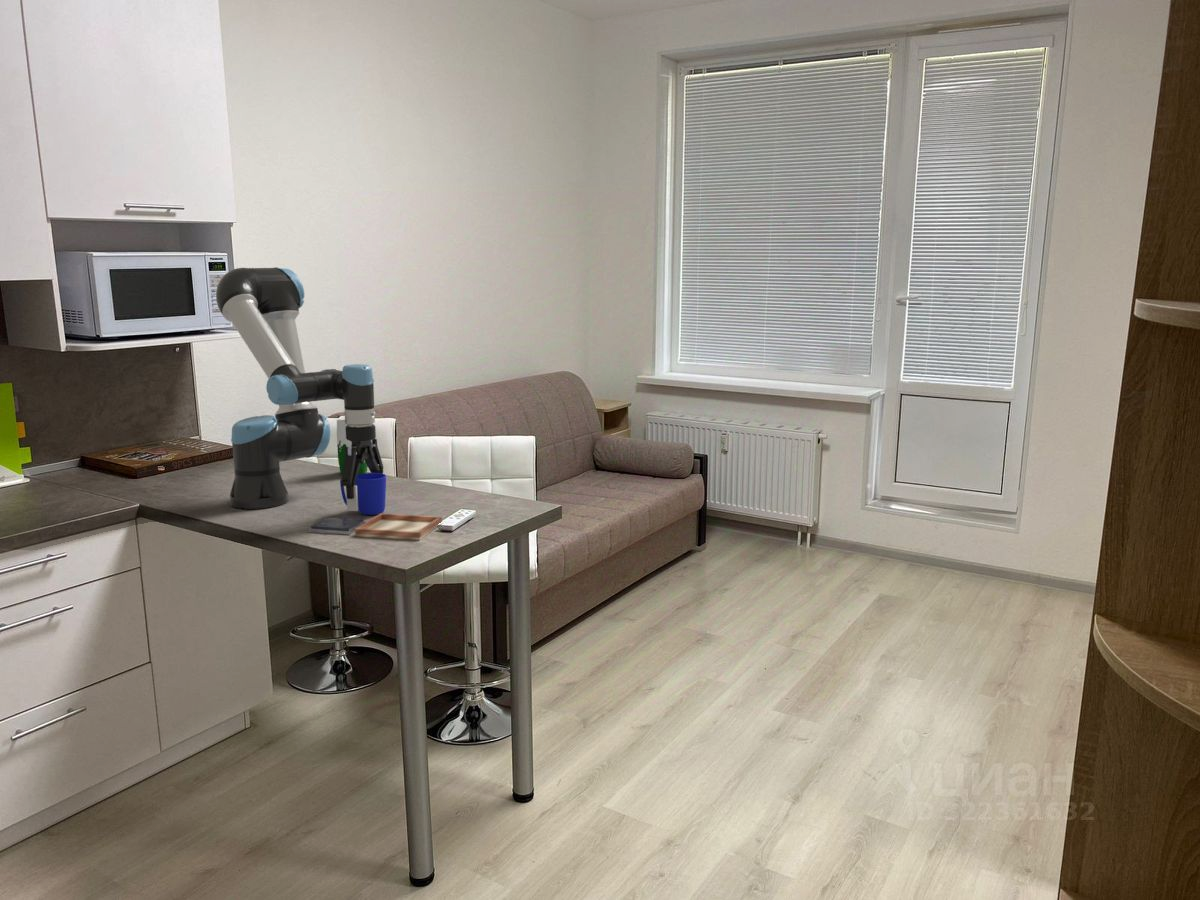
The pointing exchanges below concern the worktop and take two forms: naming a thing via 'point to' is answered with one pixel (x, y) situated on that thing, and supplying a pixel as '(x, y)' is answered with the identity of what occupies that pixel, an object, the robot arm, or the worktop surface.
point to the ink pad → (336, 526)
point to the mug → (369, 493)
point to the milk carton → (345, 445)
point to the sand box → (398, 526)
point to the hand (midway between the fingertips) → (364, 504)
